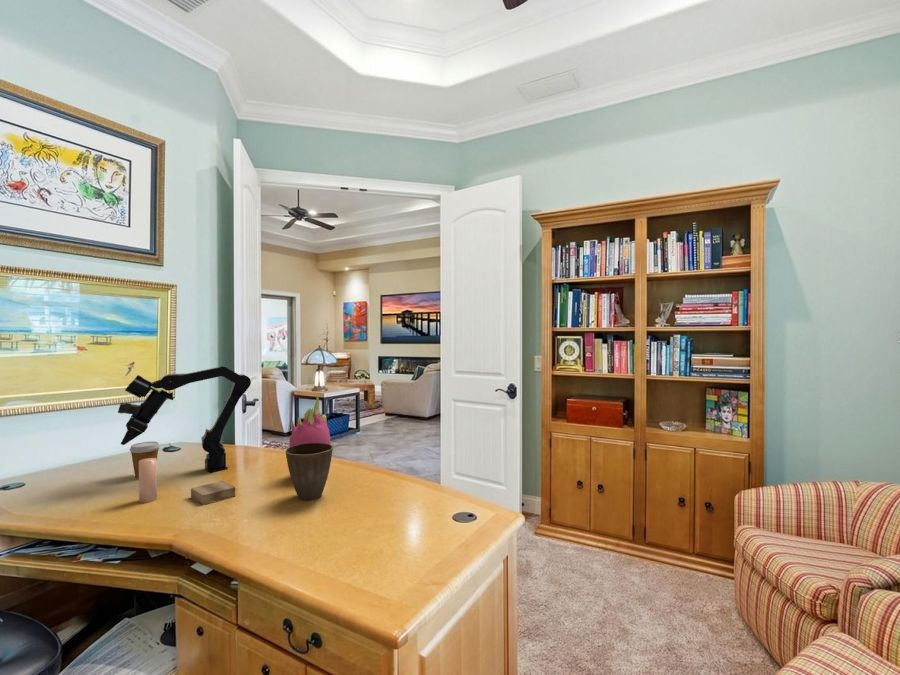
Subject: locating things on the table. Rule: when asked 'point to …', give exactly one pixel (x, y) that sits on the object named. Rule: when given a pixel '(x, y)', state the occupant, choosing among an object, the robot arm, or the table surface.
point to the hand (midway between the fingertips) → (123, 441)
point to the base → (212, 492)
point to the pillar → (147, 480)
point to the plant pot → (309, 468)
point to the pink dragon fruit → (311, 428)
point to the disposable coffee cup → (143, 453)
